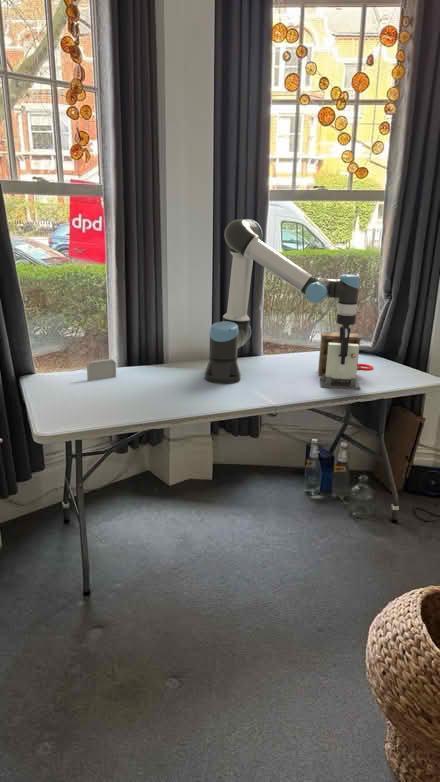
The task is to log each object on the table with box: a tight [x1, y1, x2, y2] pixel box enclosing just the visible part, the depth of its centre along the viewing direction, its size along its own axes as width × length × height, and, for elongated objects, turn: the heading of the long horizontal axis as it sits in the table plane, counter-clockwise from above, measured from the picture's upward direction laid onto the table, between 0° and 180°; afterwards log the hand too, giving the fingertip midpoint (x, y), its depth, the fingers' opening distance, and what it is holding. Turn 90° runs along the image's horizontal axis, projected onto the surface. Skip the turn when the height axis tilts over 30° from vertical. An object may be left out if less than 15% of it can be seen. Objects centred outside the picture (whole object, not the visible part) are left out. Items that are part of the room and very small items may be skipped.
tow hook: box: [357, 346, 374, 371], centre depth 263 cm, size 8×13×9 cm
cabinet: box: [317, 331, 361, 377], centre depth 250 cm, size 16×8×18 cm, turn 83°
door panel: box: [326, 343, 360, 380], centre depth 234 cm, size 12×5×14 cm, turn 83°
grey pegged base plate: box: [319, 372, 362, 391], centre depth 237 cm, size 16×10×4 cm, turn 83°
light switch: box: [86, 358, 117, 382], centre depth 235 cm, size 2×12×8 cm, turn 125°
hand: (341, 369), depth 236 cm, fingers closed on door panel, 4 cm apart
